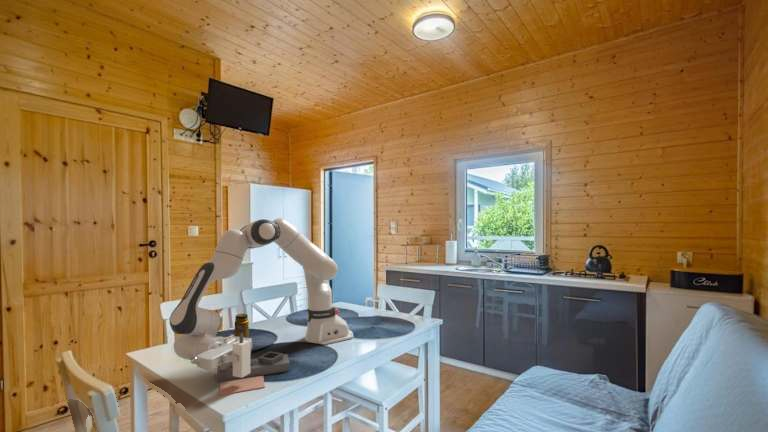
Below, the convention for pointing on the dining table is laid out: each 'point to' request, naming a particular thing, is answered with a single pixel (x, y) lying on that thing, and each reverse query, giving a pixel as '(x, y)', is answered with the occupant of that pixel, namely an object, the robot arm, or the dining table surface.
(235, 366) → the block
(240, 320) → the condiment
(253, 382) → the mat
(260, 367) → the power strip
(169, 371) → the dining table surface
